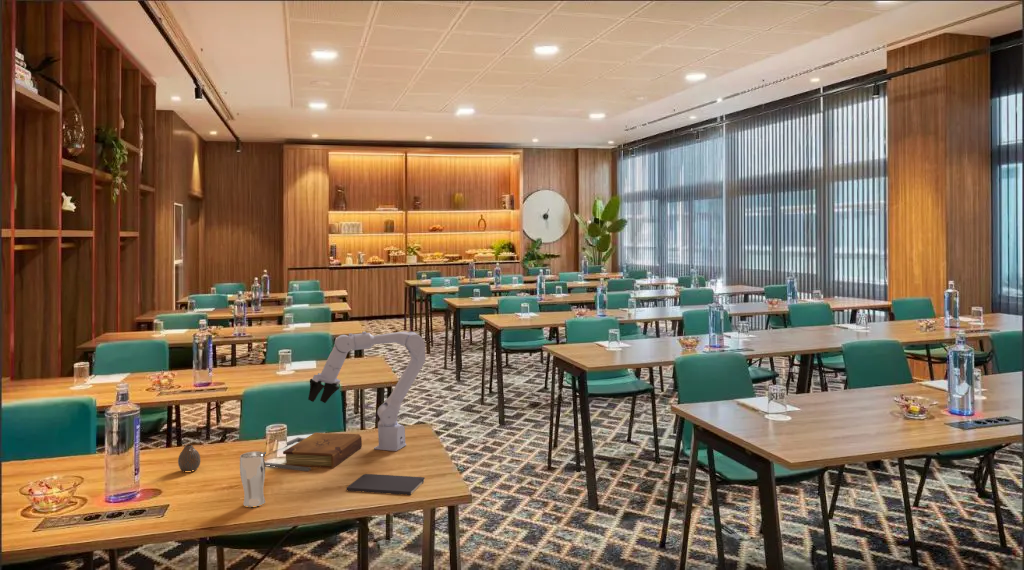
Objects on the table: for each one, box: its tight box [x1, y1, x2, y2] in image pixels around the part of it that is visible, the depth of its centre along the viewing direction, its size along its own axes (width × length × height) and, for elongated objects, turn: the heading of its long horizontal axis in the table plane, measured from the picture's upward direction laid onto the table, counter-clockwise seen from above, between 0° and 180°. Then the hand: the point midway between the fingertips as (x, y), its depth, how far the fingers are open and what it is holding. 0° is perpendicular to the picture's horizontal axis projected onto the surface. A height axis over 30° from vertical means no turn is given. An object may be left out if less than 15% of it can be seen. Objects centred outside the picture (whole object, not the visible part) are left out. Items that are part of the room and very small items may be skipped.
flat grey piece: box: [263, 437, 312, 472], centre depth 251 cm, size 27×30×1 cm
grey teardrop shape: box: [177, 444, 201, 472], centre depth 236 cm, size 7×7×9 cm
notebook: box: [345, 473, 426, 496], centre depth 217 cm, size 13×2×21 cm
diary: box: [282, 432, 363, 469], centre depth 248 cm, size 23×19×6 cm
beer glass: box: [239, 450, 266, 507], centre depth 204 cm, size 7×7×15 cm
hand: (316, 401), depth 248 cm, fingers open, 7 cm apart
